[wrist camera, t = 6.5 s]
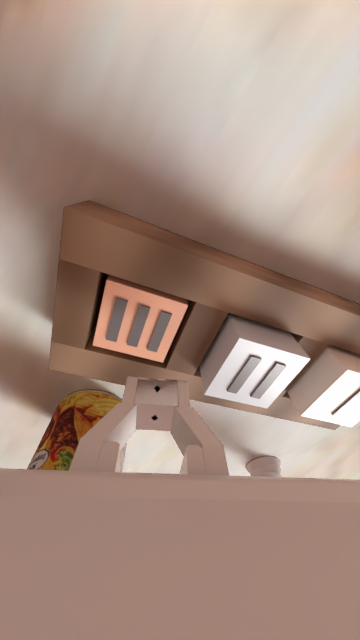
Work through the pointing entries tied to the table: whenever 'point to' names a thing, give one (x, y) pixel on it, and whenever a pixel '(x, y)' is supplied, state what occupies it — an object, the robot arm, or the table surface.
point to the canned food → (72, 428)
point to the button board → (189, 283)
